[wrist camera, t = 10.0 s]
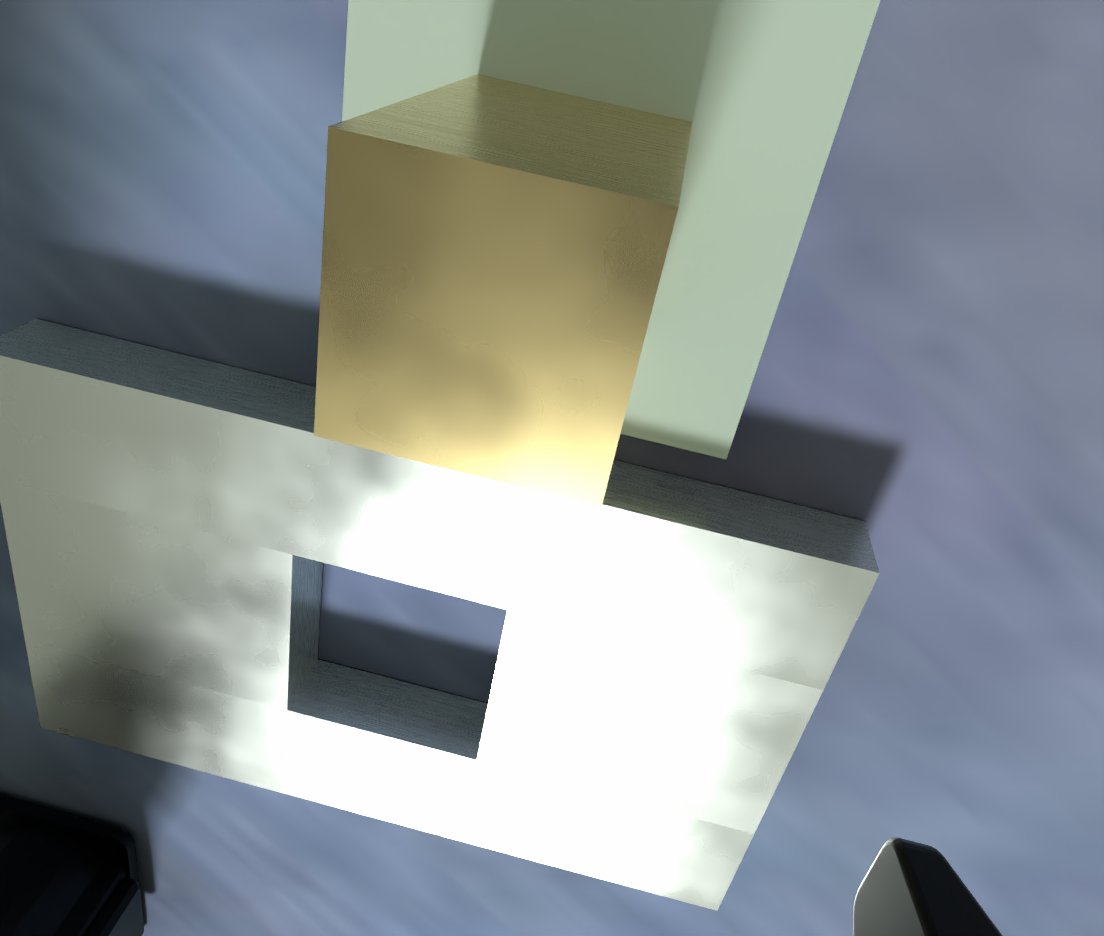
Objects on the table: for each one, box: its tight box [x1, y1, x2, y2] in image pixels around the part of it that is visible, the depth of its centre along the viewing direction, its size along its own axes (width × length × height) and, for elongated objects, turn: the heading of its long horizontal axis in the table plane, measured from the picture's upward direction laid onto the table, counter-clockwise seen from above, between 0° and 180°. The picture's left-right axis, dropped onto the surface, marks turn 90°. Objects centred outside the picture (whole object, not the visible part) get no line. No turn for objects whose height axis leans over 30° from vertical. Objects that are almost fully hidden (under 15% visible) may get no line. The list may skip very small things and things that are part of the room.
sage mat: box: [342, 0, 880, 459], centre depth 17 cm, size 9×9×1 cm
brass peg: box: [314, 74, 692, 507], centre depth 13 cm, size 4×4×7 cm
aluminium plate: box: [0, 319, 879, 910], centre depth 22 cm, size 20×12×2 cm, turn 79°
